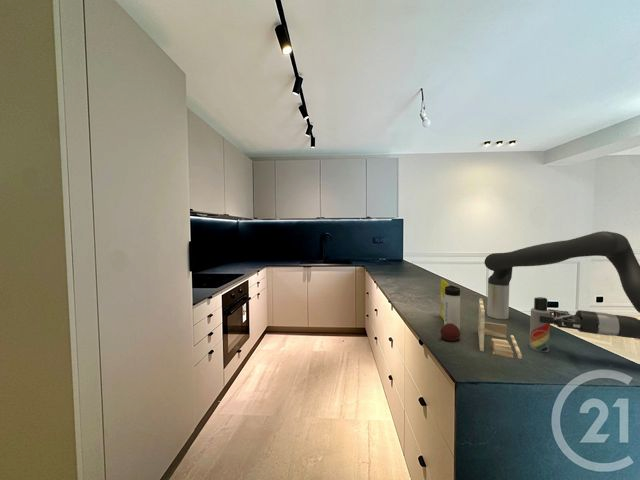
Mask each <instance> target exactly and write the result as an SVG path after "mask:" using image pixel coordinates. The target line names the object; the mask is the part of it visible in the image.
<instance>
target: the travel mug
mask: <svg viewBox="0 0 640 480" xmlns="http://www.w3.org/2000/svg"><path fill="white" fill-rule="evenodd" d="M460 314H461V288H460V287H458V286H454V285H450V284H449V286H447V287H445V304H444V320H443V326H444V325H445V324H448V323H452V324H454V325H456V326H457V327H458V329H459V330H460V327H461V325H460V323H461V322H460V321H461V317H460V316H461V315H460Z"/></svg>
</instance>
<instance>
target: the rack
mask: <svg viewBox="0 0 640 480" xmlns="http://www.w3.org/2000/svg"><path fill="white" fill-rule="evenodd" d="M485 315H486V311H485V307H484V299H483V298H482V297H481V298H478V320H477V321H478V325H477V326H478V329H477V334H478V344H479V351H480V352H485V350H484V349H485V348H484V347H485V336H493V337H498V338H503V339H504V338H505V339H506V338H507V329H508V328H507V324H501V323H495V322H489V321H485V320H486V319H485V318H486V317H485ZM510 340H511V342H512V343H511V344H512V345H513V348H514V351H515V353H516V356H517V359H521V360H522V359H523V354H522V352H521V350H520V347H519V345H518V342H517V340H516V338H515V336H514V335H512V334H510Z"/></svg>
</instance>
